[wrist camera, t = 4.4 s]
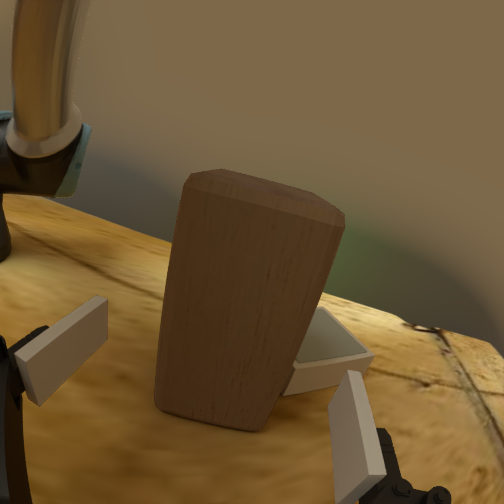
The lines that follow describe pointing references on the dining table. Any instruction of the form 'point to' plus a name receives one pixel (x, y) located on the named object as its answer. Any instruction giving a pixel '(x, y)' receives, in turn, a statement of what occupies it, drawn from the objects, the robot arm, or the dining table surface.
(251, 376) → the block
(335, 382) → the tray
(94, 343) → the robot arm
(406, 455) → the dining table surface
